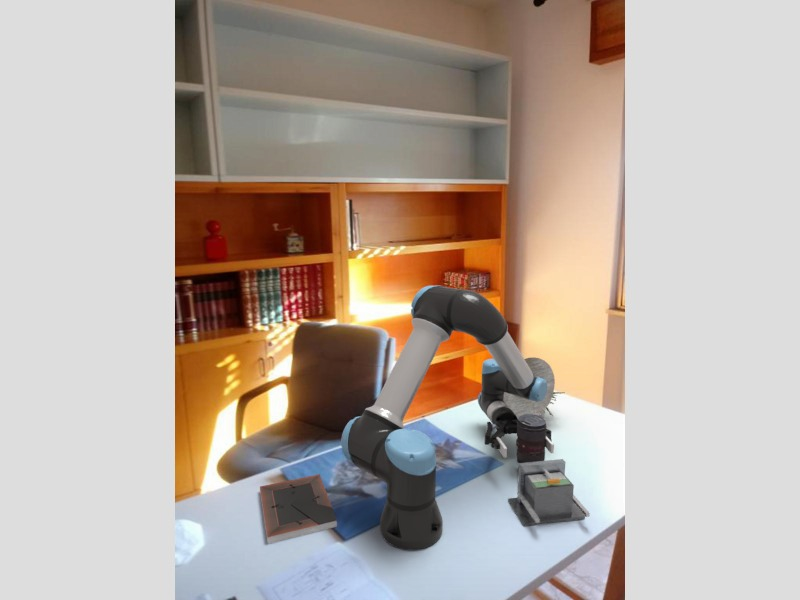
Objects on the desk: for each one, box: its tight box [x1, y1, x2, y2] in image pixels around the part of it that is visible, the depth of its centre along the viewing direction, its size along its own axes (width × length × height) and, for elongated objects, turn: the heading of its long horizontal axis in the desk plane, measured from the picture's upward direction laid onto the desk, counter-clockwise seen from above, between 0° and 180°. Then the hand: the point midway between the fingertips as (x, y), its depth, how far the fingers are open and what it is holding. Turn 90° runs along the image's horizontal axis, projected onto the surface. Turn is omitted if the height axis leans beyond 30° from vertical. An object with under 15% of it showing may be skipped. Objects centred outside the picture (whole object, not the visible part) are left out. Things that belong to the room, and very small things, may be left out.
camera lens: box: [515, 414, 547, 464], centre depth 134 cm, size 8×8×15 cm
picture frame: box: [259, 473, 338, 545], centre depth 121 cm, size 16×2×22 cm
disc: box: [504, 357, 566, 418], centre depth 173 cm, size 25×18×25 cm
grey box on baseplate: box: [507, 472, 586, 527], centre depth 119 cm, size 16×10×9 cm, turn 99°
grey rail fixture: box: [516, 458, 591, 523], centre depth 116 cm, size 14×12×10 cm
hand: (529, 451), depth 129 cm, fingers open, 13 cm apart
